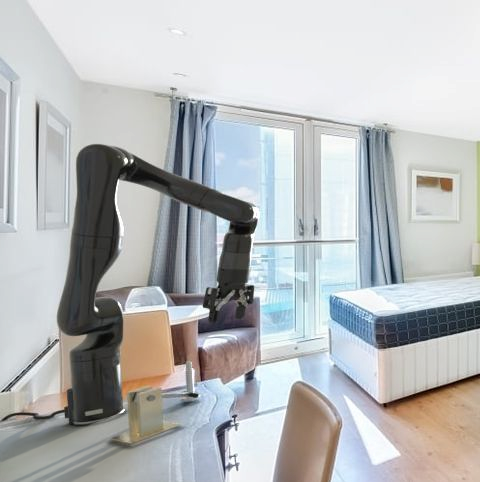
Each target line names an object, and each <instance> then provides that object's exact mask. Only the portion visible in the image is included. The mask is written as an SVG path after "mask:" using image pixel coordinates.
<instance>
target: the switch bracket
mask: <svg viewBox="0 0 480 482" xmlns="http://www.w3.org/2000/svg"><path fill="white" fill-rule="evenodd" d="M152 387H153V386H152V385H146V386H144V387H140V388H136V389H133V390H129V391H127V392H126V400H127V401H126V402H127V415H128V416H127V418H128V431H127V432H124V433H121V434H118V435H116V436H113V437H110V440H111V441H116V442H118V443H123V444H127V445H134V444H135V443H138V442H141V441H144V440H147V439H149V438H151V437H154V436H157V435H160V434H162V433H165V432H168V431H171V430H172V429H175V428H178V427H180V426H182V424H180V423H176V422H172V421H167V420H164V409H163V398H162V394H163V392H162V391H163V390H162V387H156V388H152ZM142 391H145V392H142ZM137 392H142V393H139V394H137V402H134V399H135V396H136V393H137Z"/></svg>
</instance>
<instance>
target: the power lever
mask: <svg viewBox="0 0 480 482" xmlns="http://www.w3.org/2000/svg"><path fill="white" fill-rule="evenodd" d="M142 392H145V391H142ZM142 392H137V393H136V396H135V399H134V402H137V394H139V393H142ZM198 393H199V392H195V393H192V392H187V390H184V391H182V392H169V393H168V392H167V393H162V399H174V398H181V397H192V398H197V397H198Z"/></svg>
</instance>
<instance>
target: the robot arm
mask: <svg viewBox="0 0 480 482" xmlns="http://www.w3.org/2000/svg"><path fill="white" fill-rule="evenodd" d="M75 176H76V177H75V179H76V199H75V205H74V212H73V223H72V227H71V233H70V242H69V255H68V262H67V270H66V276H65V281H64V286H63V288H62V292H61V297H60V299H59V303H58V307H57V312H56V325H57V327H58V329H59V331H60V332H61V333H62V334H64V335H66V336H68V337H81V336H85V337H84V339H83V340H82V341H81V342H79V343H78V344H77V345H75V346H74V347H73V348H71V349H70V350H69V353H68V361H69V371H70V373H69V374H70V387H69V388H68V389H67V390H66V403H67V404H66V406H64V407H63V409H60V410H56V411H54V412H52V413H51V414H49V415H41V416H40V414H39V413H38V412H27V411H26V412H25V411H19V412H13V413H9V414H7V415H6V416H4V417H2V419H0V421H1V422H4V421H7V420H8V419H10V418H12V417H18V416H27V417H28V416H29V417H32V419H33V420H49V419H52V418H54V417H55V416H56V415H59V414H64V419H68V425H73V426H86V425H93V424H96V423H100V422H102V421H105V420H108V419H112V418H114V417H118V416H120V415H123V414H124V413H125V408H124V407H125V406H124V395H123V379H122V378H123V377H122V376H123V375H122V363H121V362H122V361H121V346H122V345H123V341H124V311H123V307H122V305H121V304H120V302H119V301H118V300H116V299H115V298H114V297H109V296H100V297H97V292H98V288H99V285H100V283H101V281H102V279H103V278H104V277H105V276H106V274H107V273H108V272H109V270H110V269H111V268H112V267H113V265H114V264H115V263H116V262H117V260H118V258H119V257H120V254H121V252H122V245H123V239H124V226H123V221H122V218H121V215H120V212H119V209H118V205H117V192H118V185H119V181H122V182H128V183H132V184H135V185H139V186H143V187H146V188H148V189H151V190H153V191H156V192H158V193H160V194H162V195H164V196H166V197H168V198H169V199H171V200H174V201H176V202H178V203H180V204H183V205H187V207H191V208H193V209H197V210H199V211H202V212H205V213H210V214H212V215H214V216H216V217H217V218H220V219H222V220H224V221H228V222H229V225H228V230H227V232H226V233H225V234H224V236H223V241H222V247H221V253H220V256H219V259H218V266H217V273H216V279H215V280H216V282H217V286H216V287H212V286H208V287H206V288H205V292H204V298H203V302H202V308H203V309H207V310H209V311H208V312H209V313H208V322H209V324H218V323H219V318H220V313H221V310H220V309H221V308H222V307H223V306H224V305H226V304H227V303H228V302H231V301H233V302H235V303H236V305H237V306H236V309H235V316H234V318H235V319H236V320H243V319H244V318H245V316H246V309H247V307H248V306H249V305H252V304H253V303H254V296H255V285H254V284H248V283H249V281H250V272H251V267H252V253H253V247H254V246H253V245H254V237H255V232H256V230H257V227H258V223H259V220H260V219H259V218H260V211H259V208H258V207H257V205H255V204H254V203H253V202H250V201H245V200H242V199H239V198H237V197H234V196H230V195H228V194H225V193H222V192H221V191H220V190H218V189H215V188H213V187H210V186H208V185H205V184H203V183H200V182H197V181H194V180H192V179H190V178H187V177H183V176H180V175H178V174H176V173H172V172H169V171H167V170H165V169H162V168H160V167H158V166H156V165H154V164H152V163H150V162H148V161H146V160H145V159H143V158H141V157H139V156H137V155H135V154H133V153H131V152H129V151H128V150H126V149H124V148H122V147H119V146H115V145H109V144H104V143H92V144H88V145H85V146H84V147H82V148H81V149H80V150H79V151H78V153H77V155H76V158H75Z"/></svg>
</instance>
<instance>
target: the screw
mask: <svg viewBox="0 0 480 482" xmlns="http://www.w3.org/2000/svg"><path fill="white" fill-rule="evenodd" d="M184 370H185V373H184V374H185V378H184V379H185V386H186V387H185V391H187V392H192V393H196V392H195V382H194V381H195V380H194V368H193V363H192V361H190V360H187V361H186V362H185V369H184ZM197 393H198V397H197V398H192V397H179V401H180V402H184V403H186V404H187V403H193V402H195V401H197V400H198V399H199V398H201V397H202V394H201V393H200V392H197Z"/></svg>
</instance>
